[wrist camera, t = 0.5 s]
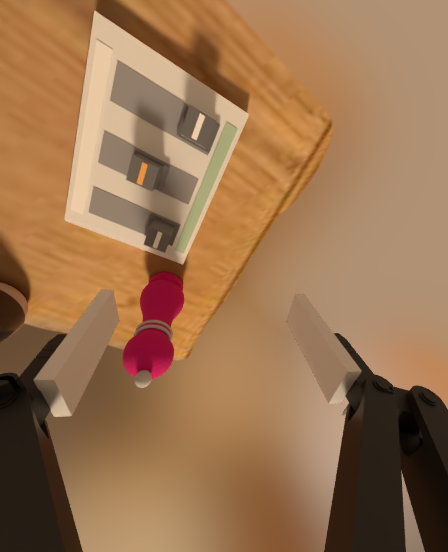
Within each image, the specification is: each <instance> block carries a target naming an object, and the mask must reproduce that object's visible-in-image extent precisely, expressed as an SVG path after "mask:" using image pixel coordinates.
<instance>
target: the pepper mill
mask: <svg viewBox="0 0 448 552" xmlns="http://www.w3.org/2000/svg"><path fill="white" fill-rule="evenodd" d="M182 290H183V285H182V282H181V280H180V279H179V278H178V277H177V276H176V275H174V274H172V273H169V272H161V273H158V274H155V275H154V276H153V277H152V278H151V279H150V281H149V284H148V285H147V286H146V287H145V288H144V289H143V291H142V294H141V298H140V307H141V311H142V314H143V321H142V323H141V324H139V325H138V327H137V328H136V331H135V334H134V337H133V338H131V339H130V340H129V342H128V343H127V345H126V346H125V349H124V352H123V365H124V367H125V369H126V370H127V372H128V373H129V374H130V375H132V376H134V377H135V384H136V385H137V386H138V387H141V388H143V387H146V386H148V385H149V384H150V382H151V379H153V378H157V377H159V376H161V375H162V374H163V373H165V372H166V371H167V370H168V368H169V367H170V365H171V363H172V361H173V357H174V348H173V345H172V343H171V342H172V337H173V332H172V329H171V328H170V327H171V323H172V321H173V319H174V318H176V317H177V315H178V314H179V313H180V311H181V310H182V307H183V304H184V294H183V292H182Z"/></svg>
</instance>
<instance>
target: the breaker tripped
mask: <svg viewBox="0 0 448 552" xmlns="http://www.w3.org/2000/svg"><path fill="white" fill-rule="evenodd" d="M169 169H170V167H168V166H166V165H164V164H162V163H160V162H158V161H157V160H155V159H153V158H151V157H149V156H147V155H145V154H143V153H141V152H139V151H137V150H135V152H134V155H132V157H131V161H130V165H129V169H128V173H127V177H126V180H128V181H130V182H132V183H134V184H136V185H138V186H141V187H143V188H145V189H147V190H149V191H151V192H152V191H153V190H154V189H158V190H160V191H162V190H163V187H164V184H165V181H166V178H167V175H168V172H169Z"/></svg>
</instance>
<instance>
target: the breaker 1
mask: <svg viewBox="0 0 448 552" xmlns="http://www.w3.org/2000/svg"><path fill="white" fill-rule="evenodd" d="M179 228H180V226H178V225H176V224H173V223H171V222H169V221H166V220H164V219H162V218H159V217H157V216H155V215H152V214H151V215H150V218H149V221H148V224H147V227H146V230H145V233H144V235H145V236H146V238H145V241H144V244H143V245H146V246H148V247H151V248H153V249H156V250H159V251H161V252H164V253H165V252H166V249H167V246H168V245H171V246H172V245H173V243H174V240H175V238H176V235H177V233H178V230H179Z"/></svg>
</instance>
